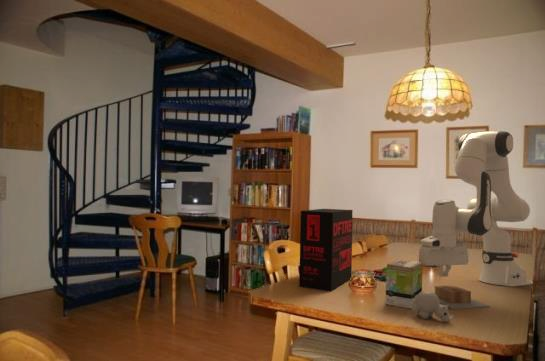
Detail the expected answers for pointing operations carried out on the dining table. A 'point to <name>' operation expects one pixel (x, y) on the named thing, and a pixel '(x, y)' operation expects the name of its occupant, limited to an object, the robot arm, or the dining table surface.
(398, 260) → the tea box
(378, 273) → the gear puzzle
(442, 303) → the mat
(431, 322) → the dining table surface
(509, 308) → the dining table surface
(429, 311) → the round bodied animal figurine
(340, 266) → the product box
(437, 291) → the walnut block
